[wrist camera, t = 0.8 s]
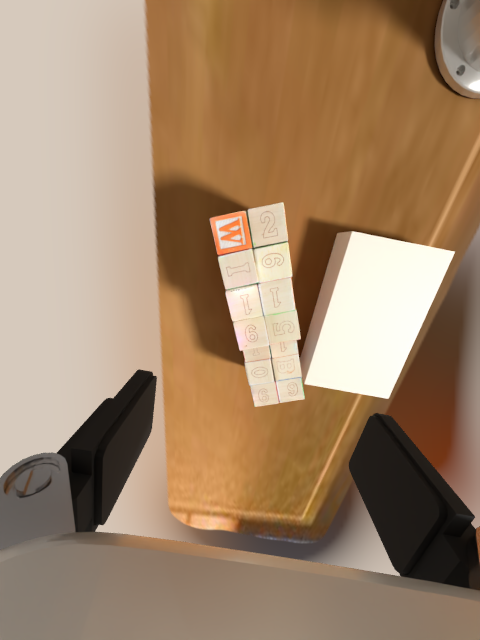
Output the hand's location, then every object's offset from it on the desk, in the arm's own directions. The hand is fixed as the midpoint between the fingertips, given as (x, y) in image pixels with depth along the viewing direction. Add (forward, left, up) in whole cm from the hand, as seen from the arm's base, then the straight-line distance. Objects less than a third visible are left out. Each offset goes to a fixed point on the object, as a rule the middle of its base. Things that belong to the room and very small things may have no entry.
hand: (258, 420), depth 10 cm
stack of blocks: (-1, 0, -25) cm, 25 cm away
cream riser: (-15, 0, -25) cm, 30 cm away
